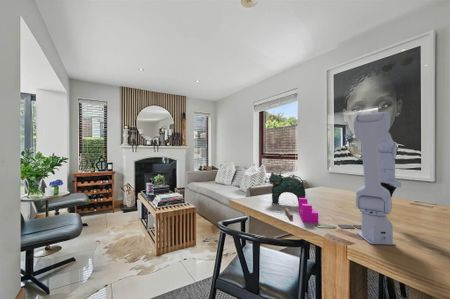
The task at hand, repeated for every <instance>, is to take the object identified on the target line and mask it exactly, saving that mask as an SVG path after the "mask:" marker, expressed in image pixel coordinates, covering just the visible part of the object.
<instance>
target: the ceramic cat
mask: <svg viewBox="0 0 450 299" xmlns="http://www.w3.org/2000/svg"><path fill="white" fill-rule="evenodd" d="M282 171H285V172H288V171H287V170H286V169H285V168H282V169H280V173H279V174H278V173H274V172H271V173H270V176H269V178H268V179H269V180H268V181H269V183H270V184H271V185H272V188H271V203H272V204H273V203H274V204H275V205H278V204H279V203H278V202H279V201H280V196H281V195H282V194H284V193H285V194H286V193H290V194H293V195H295V196H296V198H297V202H298V203H297V204H298V206H299V198H306V189H305V187H304V186H305V185H304V181H303V180H302V178H301V177H300V176H297V175H294V176H292V175H287V176H283V175H282V173H281V172H282ZM277 203H278V204H277Z"/></svg>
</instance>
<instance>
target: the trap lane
mask: <svg viewBox="0 0 450 299" xmlns="http://www.w3.org/2000/svg"><path fill="white" fill-rule="evenodd" d="M284 210H285V211H284V212H285V214H286V216H287V218H288V219H289V220H290V221H293V220H294V214H292V212H291V211H290V209H289V208H287V207H285V209H284ZM314 224H315V226H316V227H317V228H318V229H319V228H321V229H337V226H338V227H339V228H340V229H345V230H346V229H347V230H348V229H351V230H352V229H353V230H354V229H357V230H362V224H359V225H358V224H353V225H351V224H337V226H336V225H335V224H331V223H330V224H328V223H323V224H322V223H314Z"/></svg>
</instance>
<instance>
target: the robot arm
mask: <svg viewBox="0 0 450 299" xmlns="http://www.w3.org/2000/svg"><path fill="white" fill-rule="evenodd" d="M391 119H392V118H391V113H390V112H389V111H381V112H379V111H378V112H369V113H357V114H356V115H355V116H354V118H353V132H354V133H353V134H354V137H355V138H356V139H357V140H359V141H360V146H361V154H362V155H361V156H362V167H363V168H362V169H363V179H364V185H362V186H360V187H358V189H357V190H356V197H355V204H356V205H355V206H356V208H357V209H358V210H359V212H360V213H361V225H362V229H361V231H356V235H358V236H359V237H360V238H362V239H363V240H365V241H366V242H368V244H371V245H373V244H374V245H394V246H395V245H396V242H394V241H393V239H394V238H393V237H394V236H393V235H394V234H393V231H394V230H393V228H394V227H393V223H392V222H391V221H390V220H389V219H388V218H387V215H390V214H391V212H392V208H393V201H392V200H393V199H392V197H393V194H394V192H395V191H396V189H397V188H402V182H401V181H399V179H396V158H397V150H398V145H397V142H396V141H394V140H393V137H392V135H391V133H390V132H389V130H390V128H391V122H392V121H391Z"/></svg>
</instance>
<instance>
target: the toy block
mask: <svg viewBox="0 0 450 299" xmlns="http://www.w3.org/2000/svg"><path fill="white" fill-rule="evenodd" d="M298 214H299V216H300V219H301V222H302V223H309V224H319V212H318V211H317V210H315V209H314V208H313V206H312V204H311V203H310V204H309V203H308V198H306V197H305V198H299V205H298Z"/></svg>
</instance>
